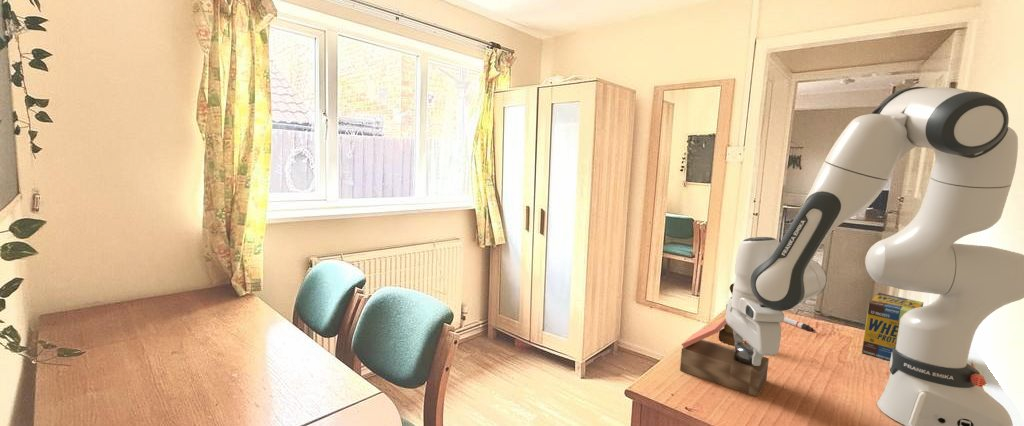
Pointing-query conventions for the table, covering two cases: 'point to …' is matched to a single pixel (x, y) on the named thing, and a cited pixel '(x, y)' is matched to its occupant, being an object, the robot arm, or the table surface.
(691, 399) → the table surface
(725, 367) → the block
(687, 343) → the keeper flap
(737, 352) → the grey domed cylinder
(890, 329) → the protein box
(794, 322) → the marker
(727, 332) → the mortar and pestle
